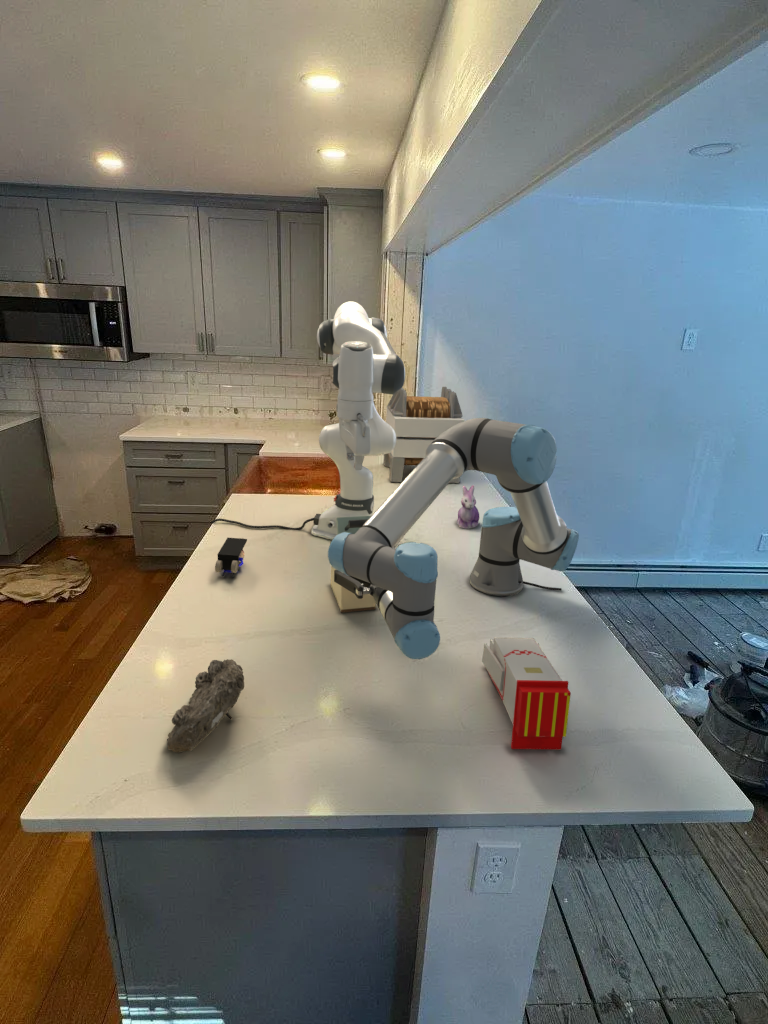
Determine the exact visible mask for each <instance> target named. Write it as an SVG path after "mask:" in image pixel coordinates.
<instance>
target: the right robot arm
mask: <svg viewBox="0 0 768 1024" xmlns="http://www.w3.org/2000/svg"><path fill="white" fill-rule="evenodd" d="M557 452H558V447H557V442H556V439H555V436H554V435H553V433H551V432H550V431H549V430H548V429H546V428H543V427H539V426H536V425H534V424H524V423H519V422H511V421H504V420H499V419H498V420H497V419H492V418H487V417H474V418H469V419H466V420H465V421H464V422H461V423H459V424H457V425H455V426H453V427H451V428H449V429H448V430H446V431H445V432H443V433H442V434H440V435H439V436H438V437H437V438H436V439H435V440H434V441H433V442H432V443H431V444H430V445H429V446H428V448H427V449H426V456H425V458H424V459H423V460H422V461H421V462H420V463H419V464H418V465H417V466H414V468H413V470H411V472H410V473H409V474H408V475H407V476H406V477H405V478H404V480H402V482H400V484H399V485H398V486H397V487H396V488H395V489H394V490H393V491H392V492H391V494H389V496H388V497H387V498H386V499H385V500H384V501H383V502H382V504H380V506H379V507H378V508H377V509H376V510H375V511H374V512H373V515H372V516H371V517H370V518H369V519H368V520H367V521H366V522H365V524H364V525H363V526H362V527H361V528H360V529H359V530H358V531H357V532H356V533H355V534H352V533H347V532H343V533H341V534H338V535H336V536H335V537H334V539H333V540H331V542H330V544H329V546H328V549H327V560H328V562H329V564H330V567H331V566H332V567H333V568H335V569H337V570H334V582H336V583H337V584H339V585H341V586H342V587H344V588H345V589H347V590H349V591H350V592H352V593H354V594H355V595H356V597H357V598H358V599H362V598H363V595H365V594H370V595H371V596H373V597H374V599H375V602H376V606H377V608H378V610H379V611H380V614H381V615H382V617H383V619H384V621H385V623H386V625H387V627H388V629H389V631H390V633H391V635H392V637H393V639H394V643H395V645H396V646H397V647H398V649H399V650H400V651H401V653H402V654H403V656H405V657H406V658H408V659H410V660H417V661H418V660H423V659H424V660H425V659H426V658H428V657H430V656H432V655H433V654H434V653H435V652H436V651H437V649H438V648H439V646H440V644H441V643H440V642H441V634H440V631H439V629H438V626H437V625H436V623H435V620H434V619H435V599H436V590H437V589H436V588H437V578H438V576H439V575H438V574H439V572H438V553H437V551H436V550H435V549H434V547H433V546H431V545H430V544H427V543H423V542H416V541H409V542H404V543H401V544H399V543H400V542H401V541H402V539H403V538H404V537H405V536H406V535H407V533H408V532H409V531H410V530H411V529H412V527H413V526H414V525H415V524H416V523H417V522H418V521H419V519H420V518H421V517H422V516H423V514H425V512H426V511H427V509H429V507H430V506H431V505H432V504H433V503H434V501H435V500H436V499H437V498H438V496H439V495H441V493H442V492H443V491H444V489H445V488H446V487H447V486H448V485H449V484H450V483H449V482H450V481H451V480H452V479H456V478H459V477H460V478H461V476H462V475H463V474H464V473H465V472H467V471H476V472H480V473H484V474H489V475H494V476H495V477H496V479H497V482H498V484H499V485H500V487H501V488H503V490H505V491H506V492H508V493H510V496H511V498H512V500H513V503H514V506H497V507H493V508H490V509H488V510H486V511H485V512H484V514H483V516H482V522H481V525H480V527H481V529H480V539H479V549H478V557H477V560H476V562H475V564H474V566H473V567H472V570H471V572H470V575H469V584H470V585H471V587H472V588H473V589H475V590H476V591H478V592H481V593H483V594H486V595H489V596H490V595H491V596H496V597H510V596H514V595H517V594H519V593H521V591H522V590H523V586H524V585H528V586H531V587H536V588H538V589H543V590H548V591H558V592H559V591H561V592H562V587H552V586H551V587H550V586H544V585H541V584H537V583H533V582H529V581H525V580H524V579H523V574H522V570H521V565H520V560H521V561H524V562H528V563H531V564H534V565H537V566H540V567H544V568H546V569H550V570H551V571H557V572H565V571H566V570H567V569H568V568H569V566H570V565H571V563H572V561H573V559H574V556H575V553H576V550H577V547H578V543H579V540H580V539H579V538H580V534H579V531H577V530H575V529H574V528H569V527H568V526H567V524H566V522H565V521H564V519H563V518H562V517H561V516H559V515H558V514H557V511H556V508H555V504H554V501H553V498H552V495H551V491H550V487H549V484H548V480H549V479H550V478H551V477H552V475H553V473H554V470H555V467H556V465H557ZM396 546H397V547H396ZM395 547H396V548H395Z"/></svg>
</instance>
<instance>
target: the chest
mask: <svg viewBox="0 0 768 1024" xmlns="http://www.w3.org/2000/svg"><path fill="white" fill-rule="evenodd" d="M334 570H337V569H335V568H333V567H332V566H331V565H330V588H331V590H332V593H333V595H334V598H335V601H336V603H337V606H338V609H339V611H340V613H341V614H342V613H351V612H362V611H374V610H376V608H377V607H376V606H377V604H376V602H375V599H374V597H373V596H371V595H370V594H365V595H363V598H362V599H358V598H357V597H356V595H355V594H354V593H352V592H350V591H349V590H347V589H345V588H344V587H342V586H341V585H339V584H337V583H336V582H334Z"/></svg>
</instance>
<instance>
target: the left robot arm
mask: <svg viewBox="0 0 768 1024" xmlns="http://www.w3.org/2000/svg"><path fill="white" fill-rule="evenodd" d="M316 343H317V344H318V347H319V349H320V351H321V352H322V353H323V354H325V355H330V356H333V355H338V356H337V357H336V358H335V359H334V360H333V361H332V363H331V364H332V382H331V383H332V384H333V385H334V386H335V387H336V388H337V389H338V390H337V391H338V392H337V393H338V394H337V402H336V415H337V418H338V423H332V424H328V425H325V426H324V427H322V429H321V431H320V432H319V435H318V444H319V447H320V449H321V451H322V452H323V454H325V455H326V456H327V457H329V458H330V459H331V460H332V462H333V463H334V464H335V466H336V467H337V470H338V474H339V483H340V484H339V485H340V488H339V489H340V490H339V491H338V492H337V494H336V495H335V496H334V497H333V502H334V504H333V505H331V506H329V507H328V508H326V509H325V510H323V512H321V513H315V515H314V517H312V518H309V519H306V520H305V521H304V522H303V523H302V525H301V526H299V527H289V526H284V525H279V524H277V525H276V524H275V525H273V524H271V525H250V524H246V523H242V522H241V521H236V520H231V519H226V518H214V519H213V520H212V521H211V522H210V524H214V523H216V522H225V523H230V524H235V525H239V526H242V527H245V528H250V529H283V530H293V531H301V530H303V529H304V527H305V526H306V524H308V523H310V522H312V521H313V524H312V525H313V526H312V528H311V530H310V533H311V536H315V537H319V538H323V539H326V540H330V541H332V540H333V539H334V537H335V536H336V535H338V534H337V523H336V518H338V517H357V516H372V515H373V514H374V509H375V496H374V474H373V472H372V471H371V469H369V468H368V467H366V466H364V465H363V464H364V463H363V462H364V460H365V457H378V456H382V455H383V456H384V454H387V453H391V452H392V450H393V449H394V447H395V445H396V433H395V431H394V429H393V428H392V427H391V426H390V425H389V424H387V423H386V420H384V419H383V418H382V417H381V415H380V414H379V412H378V410H377V408H376V405H375V402H374V401H375V400H374V399H375V398H374V394H384V395H391V396H393V394H395V393H396V392H397V391H399V390H400V389H401V388H403V387H404V384H405V380H406V368H405V365H404V362H403V359H402V358H401V357H400V356H399V355H398V354H397V353H396V351H395V349H394V347H393V346H392V344H391V342H390V340H389V338H388V331H387V327H386V325H385V323H384V321H383V320H382V319H381V318H378V317H369V315H368V313H367V311H366V309H365V308H364V307H363V305H361V304H360V303H359V302H356V301H345V302H344V303H342V304H341V305H339V306H338V307H337V310H336V311H335V314H334V317H333V318H330V317H329V318H327V319H326V320H324V321H322V322H321V323H320V324H319V325H318V329H317V332H316Z"/></svg>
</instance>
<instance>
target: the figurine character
mask: <svg viewBox="0 0 768 1024" xmlns="http://www.w3.org/2000/svg"><path fill="white" fill-rule="evenodd" d="M247 542H248V538H240V537H226V539H225V541H224V543H223V544H222V546H221V547H220V549H219V551H218V552H217V560H216V562H215V564H214V572H215V573H221V577H222V578H224V577H225V576H226V574H227V573H230V574H231V573H232V574H231V578H234V577H235V575H236V573H237V572H239V571H240V567H242V566H243V565H244V564H245V562H244V558H245V551H244V547H245V546H246V544H247Z"/></svg>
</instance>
